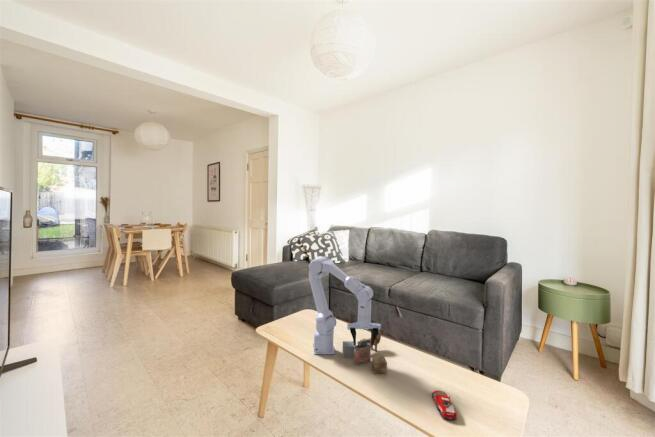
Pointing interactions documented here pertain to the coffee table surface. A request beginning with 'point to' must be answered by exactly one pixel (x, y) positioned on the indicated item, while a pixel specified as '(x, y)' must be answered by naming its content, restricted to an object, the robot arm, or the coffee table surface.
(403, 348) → the coffee table surface
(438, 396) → the race car
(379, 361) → the walnut block
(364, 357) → the lighter
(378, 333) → the lion figurine
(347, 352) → the gray block
